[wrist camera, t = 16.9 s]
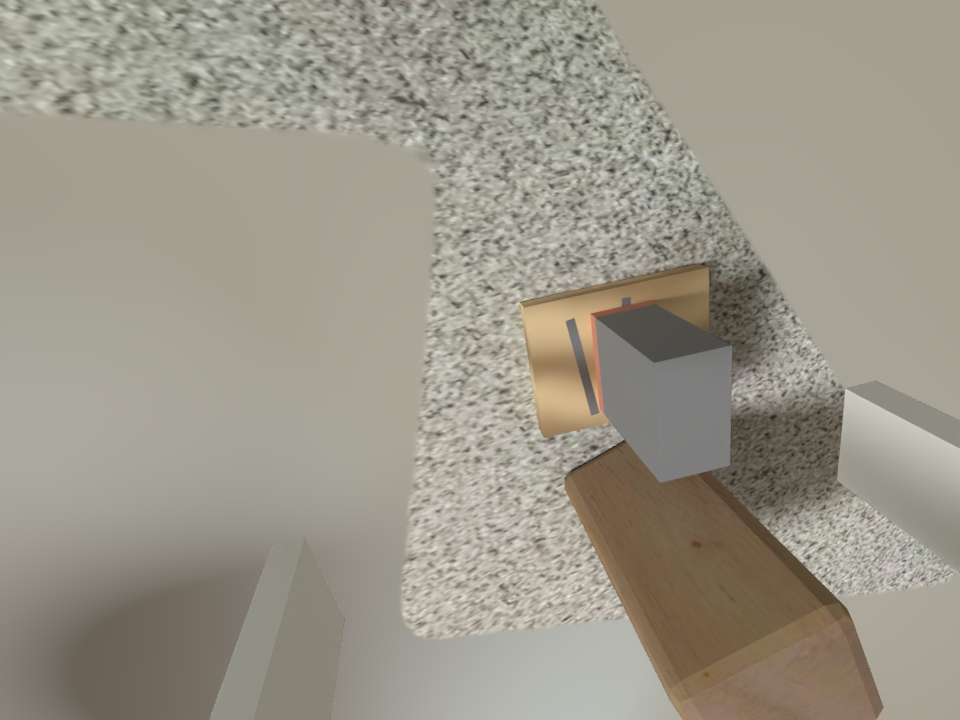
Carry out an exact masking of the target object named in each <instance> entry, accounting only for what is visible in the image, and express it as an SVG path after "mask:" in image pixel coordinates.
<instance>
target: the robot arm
mask: <svg viewBox="0 0 960 720" xmlns="http://www.w3.org/2000/svg"><path fill="white" fill-rule="evenodd" d="M837 481H838V482H840V483H841V484H842V485H844V486H845V487H846V488H848V489H849V490H850V491H852V492H853V493H854V494H856V495H857V496H858V497H860V498H861V499H862V500H864V501H865V502H866V503H868V504H869V505H870V506H872V507H873V508H874V509H876V510H877V511H878V512H880V513H881V514H882V515H884V516H885V517H886V518H888V519H889V520H890V521H892V522H893V523H894V524H896V525H897V526H898V527H900V528H901V529H902V530H904V531H905V532H906V533H908V534H909V535H910V536H912V537H913V538H914V539H916V540H917V541H918V542H920V543H921V544H922V545H924V546H925V547H926V548H928V549H929V550H930V551H932V552H933V553H934V554H936V555H937V556H938V557H940V558H941V559H942V560H944V561H945V562H946V563H948V564H949V565H950V566H952V567H953V568H954V569H956V570H957V571H958V572H960V420H958V419H956V418H954V417H952V416H950V415H948V414H946V413H943V412H941V411H939V410H937V409H935V408H933V407H931V406H929V405H927V404H924V403H922V402H920V401H918V400H916V399H914V398H912V397H910V396H908V395H905V394H903V393H901V392H899V391H897V390H895V389H893V388H891V387H888V386H886V385H884V384H882V383H880V382H878V381H873V382H869V383H865V384H861V385H858V386H854V387H851V388H847V389H845V400H844V411H843V421H842V432H841V443H840V454H839V464H838V475H837ZM344 621H345V618H344V616H343V614H342V612H341V610H340V608H339V606H338V604H337V602H336V600H335V598H334V596H333V594H332V592H331V589H330V588H329V585H328V584H327V581H326V579H325V577H324V575H323V573H322V571H321V569H320V567H319V565H318V563H317V561H316V559H315V557H314V555H313V553H312V551H311V549H310V547H309V545H308V543H307V541H306V539H305V537H303V538H299V539H296V540H292V541H288V542H285V543H281V544H277V545H274V546H272V547H271V550H270V552H269V556H268V558H267V561H266V563H265V566H264V569H263V572H262V575H261V577H260V580H259V583H258V586H257V588H256V591H255V594H254V597H253V600H252V602H251V605H250V608H249V611H248V613H247V616H246V619H245V622H244V625H243V627H242V630H241V633H240V636H239V638H238V641H237V644H236V647H235V650H234V652H233V655H232V658H231V661H230V663H229V666H228V669H227V672H226V675H225V678H224V680H223V683H222V686H221V688H220V691H219V694H218V697H217V700H216V702H215V705H214V708H213V711H212V714H211V716H210V719H209V720H330V719H331V712H332V705H333V698H334V691H335V684H336V677H337V670H338V663H339V656H340V649H341V642H342V635H343V628H344Z"/></svg>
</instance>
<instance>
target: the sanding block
mask: <svg viewBox="0 0 960 720" xmlns="http://www.w3.org/2000/svg"><path fill="white" fill-rule="evenodd" d="M590 317H591V327H592V337H593V347H594V357H595V368H596V378H597V388H598V398H599V408H600V410H601V411H602V412H603V413H604V415H605V416H606V417H607V418H608V420H609V421H610V422H611V423H612V425H613V426H614V427H615V428H616V429H617V431H618V432H619V433H620V434H621V436H622V437H623V438H624V439H625V441H626V442H627V443H628V444H629V445H630V447H631V448H632V449H633V450H634V452H635V453H636V454H637V455H638V457H639V458H640V459H641V460H642V461H643V463H644V464H645V465H646V466H647V468H648V469H649V470H650V471H651V473H652V474H653V475H654V476H655V477H656V479H657V480H658V481H659V482H660V483H662V482H666V481H670V480H674V479H678V478H682V477H686V476H690V475H694V474H698V473H703V472H707V471H711V470H715V469H719V468H723V467H727V466H730V446H731V393H732V345H731V344H729V343H727V342H726V341H724V340H722V339H720V338H718V337H716V336H714V335H712V334H710V333H709V332H707V331H705V330H703V329H701V328H699V327H697V326H695V325H693V324H691V323H690V322H688V321H686V320H684V319H682V318H680V317H678V316H676V315H674V314H673V313H671V312H669V311H667V310H665V309H663V308H661V307H659V306H657V305H656V304H654V303H652V302H650V301H646V302H641V303H637V304H632V305H627V306H623V307H618V308H614V309H609V310H605V311H600V312H596V313H591V314H590Z"/></svg>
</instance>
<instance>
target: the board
mask: <svg viewBox="0 0 960 720" xmlns="http://www.w3.org/2000/svg"><path fill="white" fill-rule="evenodd" d="M646 301H650V302H652V303H654V304H656V305H657V306H659V307H661V308H663V309H665V310H667V311H669V312H671V313H673V314H674V315H676V316H678V317H680V318H682V319H684V320H686V321H688V322H690V323H691V324H693V325H695V326H697V327H699V328H701V329H703V330H705V331H707V332H709V267H706V266H703V265H700V264H695V265H690V266H685V267H681V268H676V269H672V270H667V271H662V272H658V273H653V274H649V275H644V276H639V277H635V278H630V279H625V280H621V281H616V282H612V283H607V284H602V285H598V286H593V287H589V288H584V289H579V290H575V291H570V292H565V293H561V294H556V295H552V296H547V297H542V298H538V299H533V300H529V301H524V302H520V307H521V314H522V320H523V327H524V333H525V339H526V346H527V352H528V359H529V365H530V371H531V378H532V384H533V391H534V397H535V404H536V410H537V416H538V423H539V429H540V431H541V433H542V435H543V437H544V438H545V437H550V436H554V435H558V434H563V433H567V432H571V431H575V430H580V429H584V428H588V427H592V426H597V425H601V424H605V423H609V422H610V421H609V420H608V418H607V417H606V416H605V415H604V413H603V412H602V411H601V410H600V408H599V398H598V388H597V378H596V368H595V357H594V347H593V337H592V327H591V317H590V314H591V313H596V312H600V311H605V310H609V309H614V308H618V307H623V306H627V305H632V304H637V303H641V302H646Z"/></svg>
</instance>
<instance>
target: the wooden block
mask: <svg viewBox="0 0 960 720" xmlns="http://www.w3.org/2000/svg"><path fill="white" fill-rule="evenodd" d="M565 490H566V492H567V494H568V496H569V498H570V500H571V502H572V504H573V506H574V508H575V510H576V512H577V514H578V516H579V518H580V520H581V522H582V524H583V526H584V528H585V530H586V532H587V534H588V536H589V538H590V540H591V542H592V544H593V546H594V548H595V550H596V552H597V554H598V556H599V558H600V560H601V562H602V564H603V567H604V569H605V571H606V573H607V575H608V577H609V579H610V581H611V583H612V585H613V587H614V589H615V591H616V593H617V595H618V597H619V599H620V601H621V603H622V605H623V607H624V609H625V611H626V613H627V615H628V617H629V619H630V621H631V623H632V625H633V627H634V629H635V631H636V633H637V635H638V637H639V639H640V641H641V643H642V645H643V647H644V649H645V651H646V653H647V655H648V657H649V659H650V661H651V663H652V665H653V667H654V669H655V671H656V673H657V675H658V677H659V679H660V681H661V683H662V685H663V687H664V689H665V692H666V693H667V696H668V698H669V700H670V701H671V703H672V704H673V706H674V707H675V709H676V710H677V712H678V713H679V715H680V716H681V717H682V719H683V720H875V719H877V717H878V716H879V714H880V712H881V711H882V709H883V705H882V702H881V699H880V696H879V694H878V691H877V688H876V685H875V682H874V679H873V677H872V674H871V671H870V668H869V665H868V663H867V660H866V657H865V654H864V651H863V649H862V646H861V643H860V640H859V638H858V635H857V632H856V629H855V626H854V624H853V621H852V619H851V617H850V614H849V612H848V610H847V608H846V607H845V606H844V605H843V604H842V603H841V602H840V601H839V600H838V599H837V598H836V597H835V596H834V595H833V594H832V593H831V592H830V591H829V590H828V589H827V588H826V587H825V586H824V585H823V584H822V583H821V582H820V581H819V580H818V579H817V578H816V577H815V576H814V575H813V574H812V573H811V572H810V571H809V570H808V569H807V568H806V567H805V566H804V565H803V564H802V563H801V562H800V561H799V560H798V559H797V558H796V557H795V556H794V555H793V554H792V553H791V552H790V551H789V550H788V549H787V548H786V547H784V546H783V545H782V544H781V543H780V542H779V541H778V540H777V539H776V538H775V537H774V536H773V535H772V534H771V533H770V532H769V531H768V530H767V529H766V528H765V527H764V526H763V525H762V524H761V523H760V522H759V521H758V520H757V519H756V518H755V517H754V516H753V515H752V514H751V513H750V512H749V511H748V510H747V509H746V508H745V507H744V506H743V505H742V504H741V503H740V502H739V501H738V500H737V499H736V498H735V497H734V496H733V495H732V494H731V493H730V492H729V491H728V490H727V489H726V488H725V487H724V486H723V485H722V484H721V483H720V482H719V481H718V480H717V479H716V478H715V477H714V476H713V475H712V474H711V473H710V472H709V471H707V472H703V473H698V474H694V475H690V476H686V477H682V478H678V479H674V480H670V481H666V482H662V483H660V482H659V481H658V480H657V479H656V477H655V476H654V475H653V474H652V473H651V471H650V470H649V469H648V468H647V466H646V465H645V464H644V463H643V461H642V460H641V459H640V458H639V457H638V455H637V454H636V453H635V452H634V450H633V449H632V448H631V447H630V445H629V444H628V443H627V442H626V441H625V442H623V443H621V444H620V445H618V446H616V447H614V448H613V449H611V450H609V451H607V452H606V453H604V454H602V455H600V456H599V457H597V458H595V459H593V460H591V461H590V462H588V463H586V464H584V465H583V466H581V467H579V468H577V469H576V470H574V471H572V472H570V473H569V474H568V475H567V476H566V477H565Z"/></svg>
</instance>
